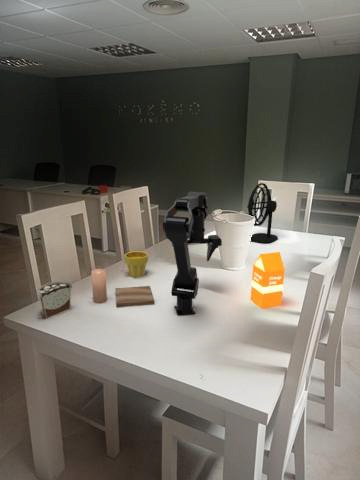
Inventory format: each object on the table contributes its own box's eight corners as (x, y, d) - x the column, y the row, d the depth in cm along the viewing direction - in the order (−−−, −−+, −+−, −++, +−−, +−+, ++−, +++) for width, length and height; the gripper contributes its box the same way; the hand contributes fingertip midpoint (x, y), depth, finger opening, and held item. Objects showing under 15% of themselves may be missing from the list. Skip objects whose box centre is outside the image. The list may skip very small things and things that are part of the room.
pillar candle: (107, 302, 130) (105, 273, 127) (92, 303, 129) (91, 273, 126) (107, 296, 135) (105, 268, 132) (93, 297, 134) (91, 268, 131)
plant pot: (142, 280, 152) (141, 259, 149) (121, 277, 155) (120, 256, 152) (151, 272, 161) (151, 252, 158) (131, 269, 164) (131, 249, 162)
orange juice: (250, 300, 134) (253, 251, 129) (269, 296, 137) (273, 248, 132) (261, 309, 127) (265, 257, 122) (281, 305, 130) (286, 255, 125)
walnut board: (154, 304, 130) (154, 300, 129) (116, 307, 127) (116, 303, 126) (149, 289, 143) (149, 285, 142) (115, 291, 140) (115, 288, 140)
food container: (64, 302, 130) (62, 278, 127) (73, 307, 126) (71, 282, 123) (33, 314, 121) (30, 288, 118) (42, 320, 117) (39, 293, 114)
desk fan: (257, 232, 235) (261, 180, 225) (282, 236, 225) (288, 182, 215) (239, 241, 214) (242, 184, 204) (265, 246, 204) (271, 186, 194)
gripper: (213, 217, 141) (212, 252, 146) (168, 220, 137) (169, 256, 142) (222, 225, 130) (221, 263, 136) (174, 229, 127) (174, 267, 132)
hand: (196, 262), depth 137 cm, fingers open, 9 cm apart
